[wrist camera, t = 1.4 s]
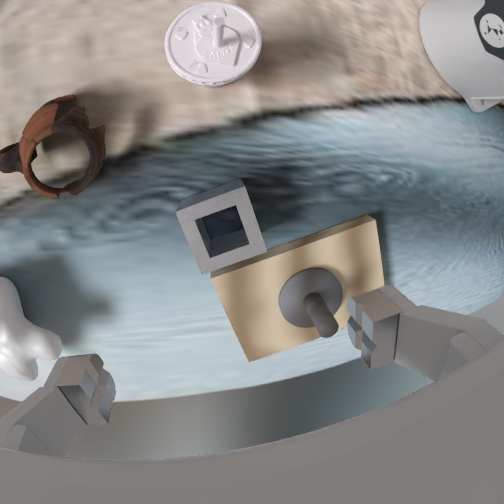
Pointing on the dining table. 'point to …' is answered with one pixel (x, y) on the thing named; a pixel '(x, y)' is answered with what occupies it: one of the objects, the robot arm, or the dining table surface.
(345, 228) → the post block
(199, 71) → the smoothie
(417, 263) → the dining table surface
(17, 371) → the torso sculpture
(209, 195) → the grey hollow square block
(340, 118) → the dining table surface
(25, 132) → the brown hollow curved piece
